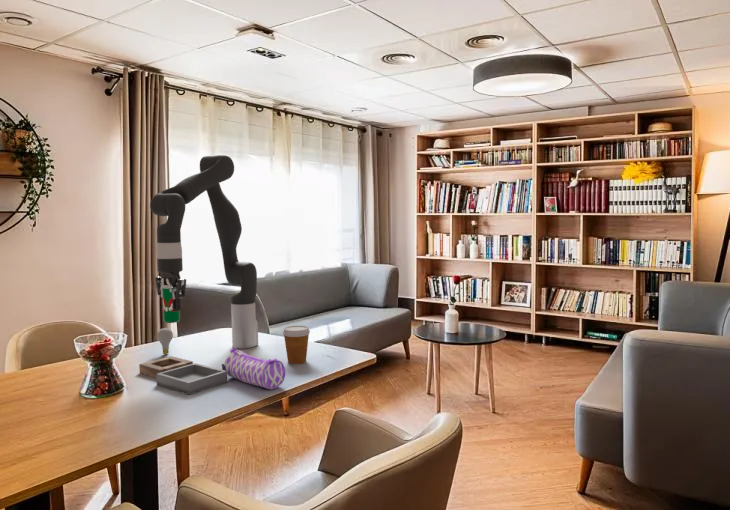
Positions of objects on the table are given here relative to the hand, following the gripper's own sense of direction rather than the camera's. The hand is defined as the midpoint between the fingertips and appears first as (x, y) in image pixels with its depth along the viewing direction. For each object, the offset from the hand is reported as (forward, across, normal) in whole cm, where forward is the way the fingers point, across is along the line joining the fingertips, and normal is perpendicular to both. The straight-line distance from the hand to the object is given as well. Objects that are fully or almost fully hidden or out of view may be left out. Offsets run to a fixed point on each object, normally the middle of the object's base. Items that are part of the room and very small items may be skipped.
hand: (171, 309), depth 171 cm
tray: (+22, -12, +1) cm, 25 cm away
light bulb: (+22, +27, -14) cm, 37 cm away
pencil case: (+22, -26, -11) cm, 36 cm away
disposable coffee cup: (+22, -21, -35) cm, 46 cm away
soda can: (+4, 0, 0) cm, 4 cm away
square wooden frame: (+22, +6, -2) cm, 23 cm away
